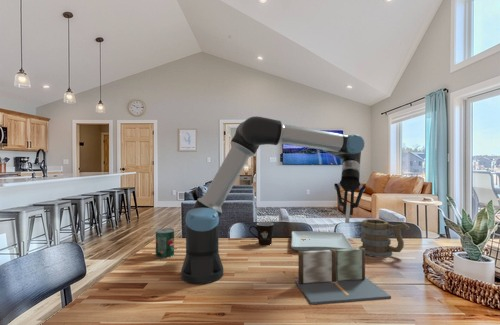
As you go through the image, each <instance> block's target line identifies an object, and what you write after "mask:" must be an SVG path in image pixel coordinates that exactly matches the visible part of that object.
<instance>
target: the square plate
mask: <svg viewBox="0 0 500 325" xmlns="http://www.w3.org/2000/svg"><path fill="white" fill-rule="evenodd" d="M301 239H306V240H304V241H303V240H301ZM309 239H310V240H309ZM290 246H291V248H292V250H294V251H297V252H298V251H319V250H330V249H335V250H339V249H355V248H354V247H353V245H352V244H351V242H350V241H349V239H348V238H347V236H346V235H345V233H343V232H332V231H331V232H330V231H317V230H316V231H313V230H312V231H303V230H302V231H300V230H299V231H293V230H292V231H291V241H290Z"/></svg>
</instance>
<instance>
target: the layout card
mask: <svg viewBox="0 0 500 325" xmlns="http://www.w3.org/2000/svg"><path fill="white" fill-rule="evenodd" d="M294 283H295V284H296V286H298V288H299V289H300V291H301V292H302V293H303V295H304V297H305V298H306V299H307V301H308V302H309V304H310V305H318V304H319V305H320V304H321V305H322V304H331V303H332V304H333V303H346V302H356V301H357V302H359V301H370V300H371V301H372V300H383V299H384V300H386V299H392V296H391V295H390V294H389V293H387V292H386V291H385V290H383V289H382V288H381V287H379V286H378V284H375V283H374V282H372V281H371V280H370V279H369V278H367V277H366V276H365V279H356V280H342V281H337V280H336V282H331V281H327V282H312V283H304V284H299V283H298V279H295V280H294Z"/></svg>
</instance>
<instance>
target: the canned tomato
mask: <svg viewBox="0 0 500 325" xmlns="http://www.w3.org/2000/svg"><path fill="white" fill-rule="evenodd" d="M173 255H174V256H175V229H174V228H167V227H166V228H158V229H156V230H155V258H157V257H158V258H157V259H168V258H167V257H169V258H172V257H174V256H173ZM171 256H172V257H171Z"/></svg>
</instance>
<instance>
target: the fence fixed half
mask: <svg viewBox="0 0 500 325" xmlns="http://www.w3.org/2000/svg"><path fill="white" fill-rule="evenodd" d="M297 254H298V256H297V258H298V261H297V263H298V275H297V276H298V279H297V280H298V283H299V284H304V283H312V282H327V281H331V282H336V250H335V249H330V250H319V251H297Z"/></svg>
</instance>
